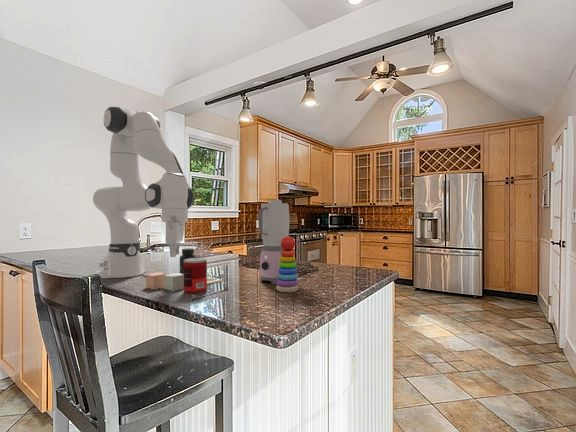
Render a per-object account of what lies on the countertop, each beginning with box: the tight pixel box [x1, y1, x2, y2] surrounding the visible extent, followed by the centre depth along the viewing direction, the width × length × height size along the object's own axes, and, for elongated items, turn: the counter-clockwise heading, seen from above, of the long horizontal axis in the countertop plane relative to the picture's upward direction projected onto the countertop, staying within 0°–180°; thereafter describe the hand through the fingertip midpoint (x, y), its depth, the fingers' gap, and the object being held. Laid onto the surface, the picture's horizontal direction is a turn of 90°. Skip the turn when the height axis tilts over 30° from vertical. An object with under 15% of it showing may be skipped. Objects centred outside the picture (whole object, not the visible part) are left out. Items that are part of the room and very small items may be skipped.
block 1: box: [145, 271, 167, 290], centre depth 115 cm, size 5×5×5 cm
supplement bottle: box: [179, 247, 197, 274], centre depth 133 cm, size 7×7×12 cm
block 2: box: [164, 272, 184, 292], centre depth 113 cm, size 5×5×5 cm
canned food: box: [183, 257, 208, 295], centre depth 109 cm, size 8×8×11 cm
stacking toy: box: [275, 235, 300, 293], centre depth 109 cm, size 8×8×19 cm
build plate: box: [207, 276, 222, 286], centre depth 123 cm, size 9×8×1 cm
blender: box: [257, 199, 290, 285], centre depth 123 cm, size 16×12×32 cm
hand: (174, 255), depth 113 cm, fingers open, 8 cm apart
